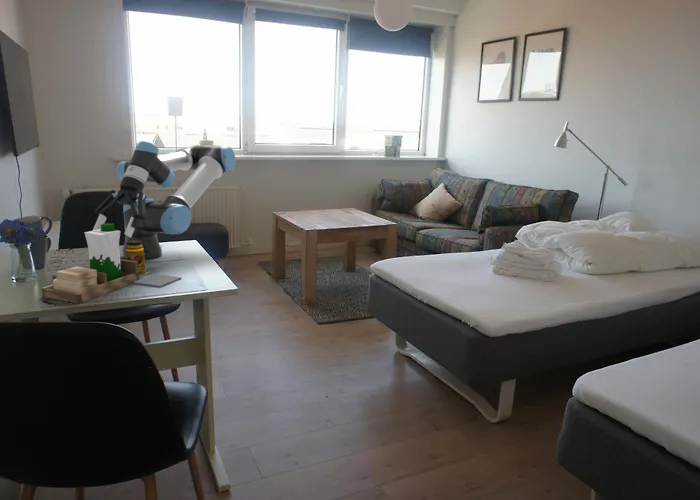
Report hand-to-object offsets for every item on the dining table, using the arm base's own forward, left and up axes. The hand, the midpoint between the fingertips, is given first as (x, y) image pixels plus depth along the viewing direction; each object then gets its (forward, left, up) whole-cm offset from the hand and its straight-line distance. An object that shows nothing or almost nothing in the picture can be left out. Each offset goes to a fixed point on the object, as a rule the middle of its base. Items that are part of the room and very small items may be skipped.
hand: (111, 234), depth 175 cm
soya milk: (+7, +4, -16) cm, 18 cm away
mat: (-2, +17, -15) cm, 23 cm away
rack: (+13, +4, -15) cm, 20 cm away
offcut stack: (+19, +4, -16) cm, 25 cm away
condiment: (-7, +3, -16) cm, 17 cm away
